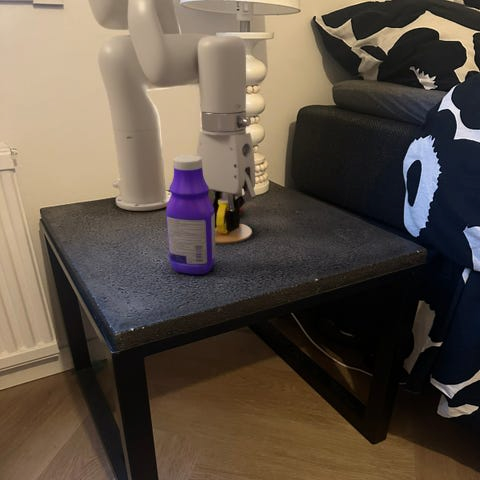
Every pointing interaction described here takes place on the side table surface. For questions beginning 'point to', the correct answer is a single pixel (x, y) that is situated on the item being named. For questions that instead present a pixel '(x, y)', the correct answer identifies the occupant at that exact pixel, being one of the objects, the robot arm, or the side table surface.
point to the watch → (222, 215)
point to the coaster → (233, 235)
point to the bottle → (190, 218)
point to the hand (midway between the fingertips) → (225, 226)
